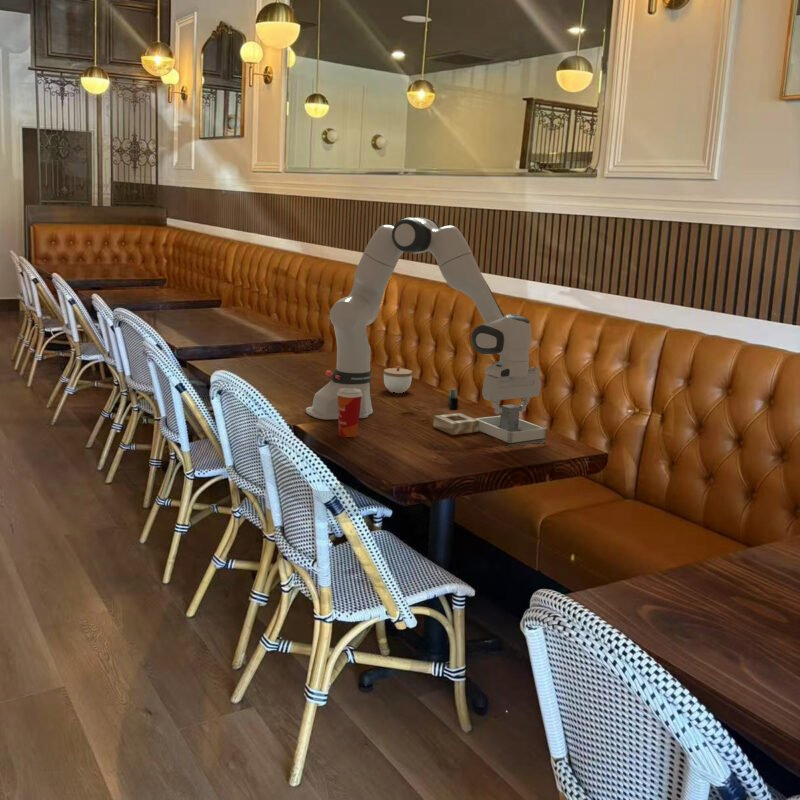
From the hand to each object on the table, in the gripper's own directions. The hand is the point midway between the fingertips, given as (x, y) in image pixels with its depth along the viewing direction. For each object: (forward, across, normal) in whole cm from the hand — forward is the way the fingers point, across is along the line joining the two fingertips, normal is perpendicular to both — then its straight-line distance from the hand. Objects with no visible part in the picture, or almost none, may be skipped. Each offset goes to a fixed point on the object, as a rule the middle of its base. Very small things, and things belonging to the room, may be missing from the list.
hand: (510, 412), depth 269 cm
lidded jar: (+8, -1, -67) cm, 68 cm away
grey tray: (+8, 0, 0) cm, 8 cm away
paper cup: (+8, +45, -21) cm, 50 cm away
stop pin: (+7, 0, 0) cm, 7 cm away
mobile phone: (+9, -8, -41) cm, 43 cm away
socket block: (+8, +13, -10) cm, 18 cm away
